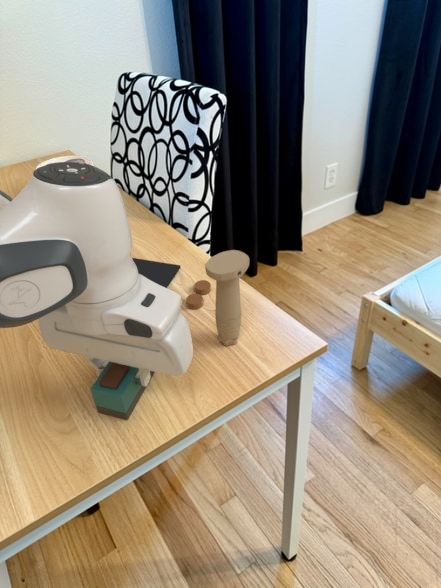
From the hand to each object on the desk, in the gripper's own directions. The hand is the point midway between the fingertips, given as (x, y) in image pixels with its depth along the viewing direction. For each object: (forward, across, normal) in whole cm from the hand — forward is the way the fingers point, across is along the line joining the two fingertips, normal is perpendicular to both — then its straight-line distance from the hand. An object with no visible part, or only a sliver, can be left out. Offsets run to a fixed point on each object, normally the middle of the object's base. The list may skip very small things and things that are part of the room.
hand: (124, 377), depth 59 cm
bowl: (+3, -45, +56) cm, 72 cm away
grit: (+3, +2, +25) cm, 26 cm away
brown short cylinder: (+3, +2, +21) cm, 21 cm away
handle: (+3, +11, +14) cm, 18 cm away
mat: (+3, -16, +23) cm, 28 cm away
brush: (+3, 0, 0) cm, 3 cm away
